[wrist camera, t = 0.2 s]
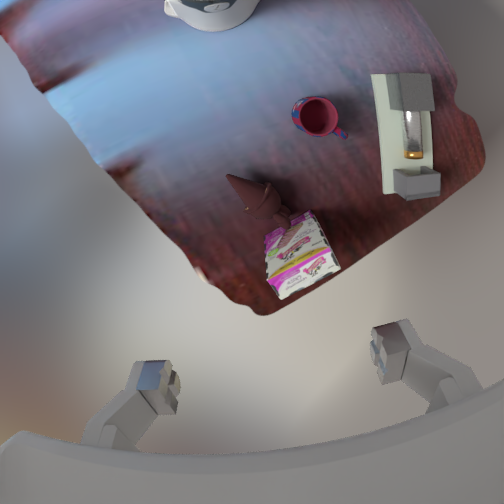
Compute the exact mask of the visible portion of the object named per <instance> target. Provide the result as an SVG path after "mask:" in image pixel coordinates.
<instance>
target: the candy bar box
mask: <svg viewBox="0 0 504 504" xmlns="http://www.w3.org/2000/svg"><path fill="white" fill-rule="evenodd" d="M290 222H291V228H290V229H289V230H285V229H283V228H282V227H279V228H277V229H276V230H274V231H272V232H270V233H268V234H267V235H265V236H264V248H265V262H266V275H267V281H268V282H269V284H270V285H271V286H272V288H273V289H274V291H275V292H276V294H277V295H278V296H279V298H280V299H281V300H282V299H284V298H286V297H288V296H290V295H292V294H294V293H296V292H298V291H300V290H302V289H304V288H306V287H307V286H309V285H311V284H313V283H315V282H317V281H319V280H321V279H323V278H325V277H327V276H329V275H331V274H332V273H334V272H336V271H338V270H340V269H341V268H340V265H339V263H338V261H337V259H336V257H335V255H334V253H333V251H332V249H331V247H330V244H329V242H328V240H327V238H326V236H325V234H324V232H323V230H322V228H321V226H320V224H319V223H318V221H317V219H316V217H315V216H314V214H313V212H312V211H311V210H309V211H307V212H305V213H304V214H302V215H300V216H298V217H297V218H295V219H293V220H291V221H290Z"/></svg>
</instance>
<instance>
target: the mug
mask: <svg viewBox="0 0 504 504" xmlns="http://www.w3.org/2000/svg"><path fill="white" fill-rule="evenodd" d="M292 119H293V122H294V124H295V125H296V126H297V127H298V128H299V129H300V130H302V131H304V132H306V133H307V134H309V135H312V136H316V137H322V136H326V135H328V134H330V133H331V132H332V133H334V134H335V135H337V136H339V137H340V138H342V139H344V140H346V139H347V138H348V134H347V133H346V132H344V131H343V130H342V129H340V128H339V127H337V123H338V112H337V109H336V107H335V106H334V104H333V103H332V102H331V101H329V100H328V99H326V98H323V97H306V98H302V99H300V100H299V101H298V102H296V104H295V105H294V107H293V109H292Z"/></svg>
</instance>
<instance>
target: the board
mask: <svg viewBox="0 0 504 504" xmlns="http://www.w3.org/2000/svg"><path fill="white" fill-rule="evenodd" d="M371 79H372V85H373V91H374V98H375V105H376V113H377V121H378V130H379V140H380V151H381V164H382V181H383V193H384V194H391V193H396V192H395V191H394V185H393V169H399V170H401V171H403V172H405V173H407V174H408V175H419V174H421V170H420V166H426V167H428V168H430V169H432V170H433V155H432V133H431V119H430V111H420V113H421V124H422V138H423V159H417V160H414V159H407V158H404V148H403V134H402V123H401V113H400V111H398V110H391V109H390V104H389V96H388V89H387V83H386V77H385V74H372V75H371Z"/></svg>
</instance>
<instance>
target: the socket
mask: <svg viewBox="0 0 504 504" xmlns="http://www.w3.org/2000/svg"><path fill="white" fill-rule="evenodd" d="M420 170H421V174H419V175H408V174H407V173H405V172H403V171H401V170H399V169H393V185H394V191H395V192H396V193H398V194H399V195H400V196H402V197H403V198H404V199H406V200H414V199H420V198H427V197H434V196H440V173H439V172H437V171H435V170H432V169H430V168H428V167H426V166H420Z"/></svg>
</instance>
